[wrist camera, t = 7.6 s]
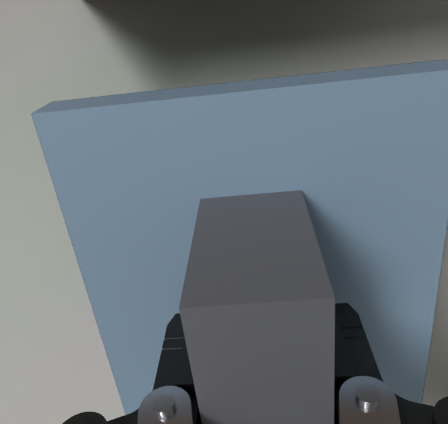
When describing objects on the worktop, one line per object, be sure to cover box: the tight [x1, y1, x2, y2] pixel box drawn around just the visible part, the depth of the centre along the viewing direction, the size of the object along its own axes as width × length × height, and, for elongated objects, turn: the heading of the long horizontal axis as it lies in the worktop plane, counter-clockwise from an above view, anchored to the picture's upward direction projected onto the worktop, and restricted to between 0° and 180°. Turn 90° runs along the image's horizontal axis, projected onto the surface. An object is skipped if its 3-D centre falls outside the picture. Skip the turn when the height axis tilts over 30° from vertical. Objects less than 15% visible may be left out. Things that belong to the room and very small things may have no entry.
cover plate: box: [31, 60, 448, 424], centre depth 13 cm, size 14×12×6 cm
